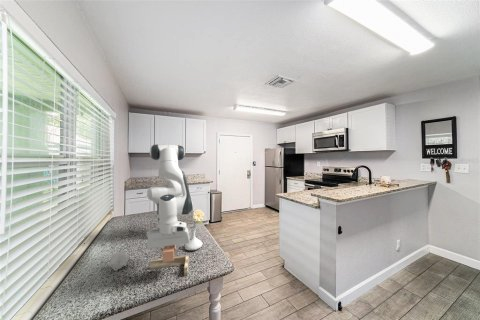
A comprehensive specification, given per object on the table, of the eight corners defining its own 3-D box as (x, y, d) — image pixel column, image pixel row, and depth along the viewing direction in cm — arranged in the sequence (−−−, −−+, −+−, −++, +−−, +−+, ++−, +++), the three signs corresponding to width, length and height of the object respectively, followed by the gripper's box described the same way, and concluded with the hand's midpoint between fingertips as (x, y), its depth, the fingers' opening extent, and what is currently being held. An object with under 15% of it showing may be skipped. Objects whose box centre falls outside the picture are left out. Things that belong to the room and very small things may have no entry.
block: (162, 262, 87) (162, 252, 87) (166, 252, 96) (165, 243, 96) (173, 260, 88) (173, 250, 88) (176, 251, 97) (175, 242, 97)
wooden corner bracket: (150, 267, 97) (150, 260, 97) (188, 261, 102) (188, 254, 101) (144, 282, 85) (143, 274, 85) (187, 275, 90) (187, 267, 90)
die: (104, 273, 94) (109, 262, 90) (110, 257, 101) (115, 246, 98) (123, 274, 98) (128, 263, 94) (127, 258, 105) (132, 247, 102)
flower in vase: (185, 254, 110) (184, 213, 109) (183, 245, 120) (182, 208, 119) (206, 249, 115) (205, 210, 114) (203, 241, 125) (202, 206, 124)
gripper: (144, 232, 86) (145, 260, 86) (188, 227, 91) (189, 253, 91) (148, 226, 92) (149, 253, 93) (189, 222, 97) (190, 247, 97)
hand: (169, 253), depth 92 cm, fingers closed on block, 5 cm apart
